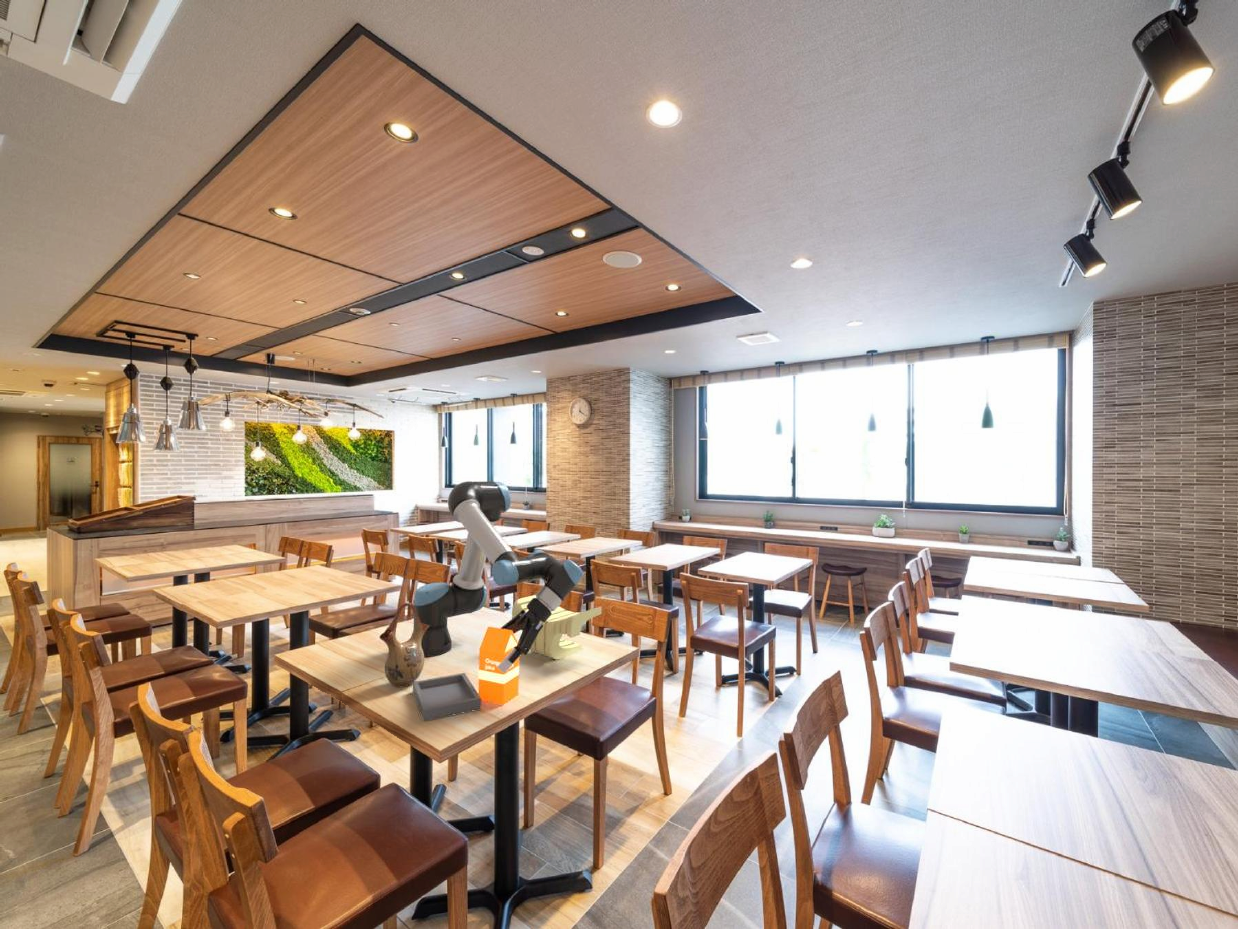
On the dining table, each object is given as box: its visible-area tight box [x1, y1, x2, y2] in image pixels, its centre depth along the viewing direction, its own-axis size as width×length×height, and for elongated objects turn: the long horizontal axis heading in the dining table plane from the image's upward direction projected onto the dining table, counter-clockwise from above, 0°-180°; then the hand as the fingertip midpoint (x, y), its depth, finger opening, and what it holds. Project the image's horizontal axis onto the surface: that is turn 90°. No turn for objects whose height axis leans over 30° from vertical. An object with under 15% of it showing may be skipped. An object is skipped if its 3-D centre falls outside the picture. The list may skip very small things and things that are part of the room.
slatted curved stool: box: [511, 594, 603, 660], centre depth 186 cm, size 30×16×18 cm, turn 53°
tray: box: [412, 672, 482, 722], centre depth 145 cm, size 20×15×3 cm
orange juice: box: [477, 626, 520, 706], centre depth 148 cm, size 8×9×20 cm
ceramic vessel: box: [379, 602, 430, 688], centre depth 156 cm, size 16×9×25 cm, turn 146°
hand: (493, 662), depth 147 cm, fingers open, 13 cm apart
